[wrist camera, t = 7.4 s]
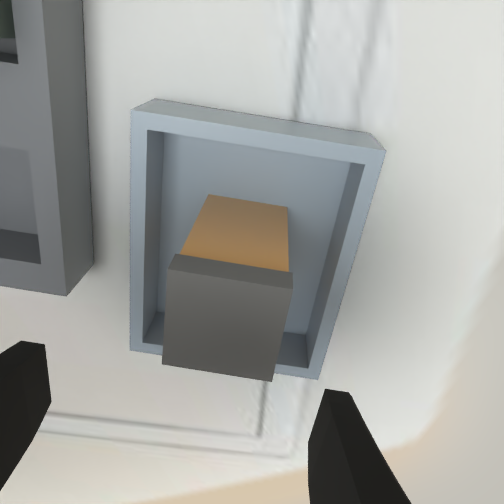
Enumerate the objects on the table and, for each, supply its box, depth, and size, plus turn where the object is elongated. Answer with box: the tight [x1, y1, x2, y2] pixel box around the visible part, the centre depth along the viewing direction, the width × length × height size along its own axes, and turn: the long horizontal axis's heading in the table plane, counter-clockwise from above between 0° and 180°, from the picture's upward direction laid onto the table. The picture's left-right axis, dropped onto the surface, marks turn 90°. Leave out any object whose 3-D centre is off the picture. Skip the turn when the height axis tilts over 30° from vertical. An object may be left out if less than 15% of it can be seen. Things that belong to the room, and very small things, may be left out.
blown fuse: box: [162, 194, 293, 382], centre depth 16 cm, size 4×4×7 cm
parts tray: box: [130, 99, 386, 380], centre depth 18 cm, size 11×9×3 cm
